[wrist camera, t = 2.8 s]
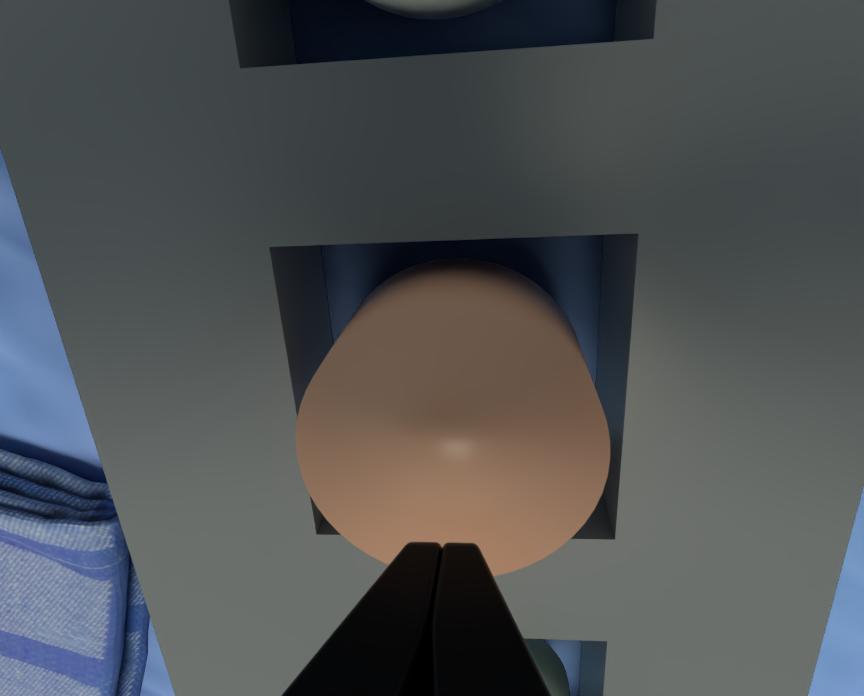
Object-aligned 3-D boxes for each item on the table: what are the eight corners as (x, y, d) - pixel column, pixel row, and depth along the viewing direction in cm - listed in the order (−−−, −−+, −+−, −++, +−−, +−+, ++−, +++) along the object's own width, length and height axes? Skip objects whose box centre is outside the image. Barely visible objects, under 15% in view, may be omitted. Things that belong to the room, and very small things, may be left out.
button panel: (998, -663, 8) (1284, -1094, 5) (719, 756, 18) (760, 872, 16) (-47, -470, 9) (-275, -714, 6) (256, 730, 20) (218, 831, 17)
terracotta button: (587, 253, 11) (621, 304, 8) (577, 479, 13) (601, 583, 10) (325, 262, 11) (272, 312, 9) (353, 477, 13) (317, 575, 11)
